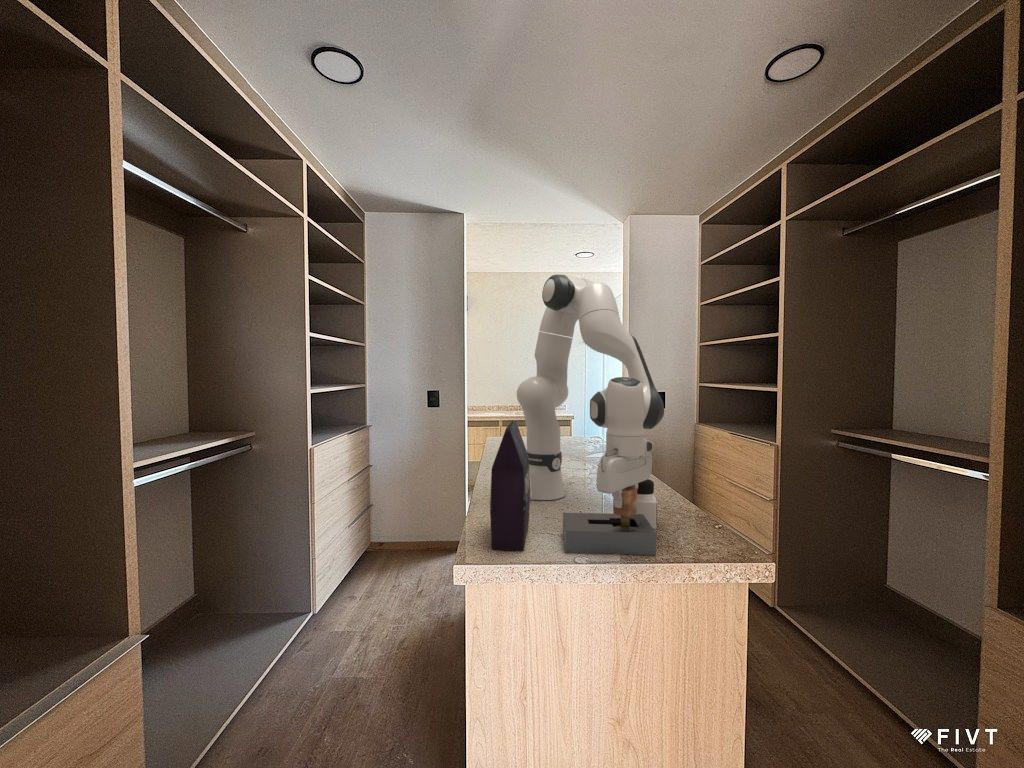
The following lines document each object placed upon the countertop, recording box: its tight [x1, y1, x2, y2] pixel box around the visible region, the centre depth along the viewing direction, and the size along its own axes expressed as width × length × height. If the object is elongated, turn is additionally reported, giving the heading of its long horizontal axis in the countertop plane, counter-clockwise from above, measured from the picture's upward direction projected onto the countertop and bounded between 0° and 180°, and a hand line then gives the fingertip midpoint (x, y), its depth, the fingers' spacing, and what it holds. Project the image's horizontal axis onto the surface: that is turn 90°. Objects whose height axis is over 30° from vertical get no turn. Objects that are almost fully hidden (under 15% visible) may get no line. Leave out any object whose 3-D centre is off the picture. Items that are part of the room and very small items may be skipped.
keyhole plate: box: [562, 511, 657, 556], centre depth 107 cm, size 20×13×5 cm, turn 86°
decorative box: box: [489, 420, 531, 552], centre depth 110 cm, size 8×16×28 cm, turn 174°
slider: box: [612, 487, 637, 527], centre depth 107 cm, size 4×4×12 cm
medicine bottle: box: [636, 478, 658, 530], centre depth 120 cm, size 7×7×12 cm
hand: (624, 504), depth 107 cm, fingers closed on slider, 4 cm apart
